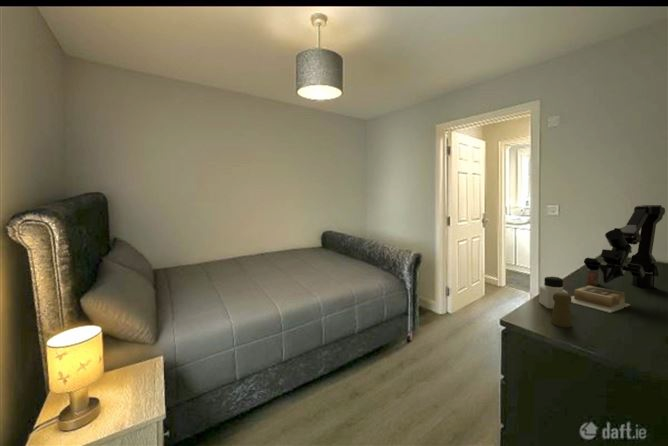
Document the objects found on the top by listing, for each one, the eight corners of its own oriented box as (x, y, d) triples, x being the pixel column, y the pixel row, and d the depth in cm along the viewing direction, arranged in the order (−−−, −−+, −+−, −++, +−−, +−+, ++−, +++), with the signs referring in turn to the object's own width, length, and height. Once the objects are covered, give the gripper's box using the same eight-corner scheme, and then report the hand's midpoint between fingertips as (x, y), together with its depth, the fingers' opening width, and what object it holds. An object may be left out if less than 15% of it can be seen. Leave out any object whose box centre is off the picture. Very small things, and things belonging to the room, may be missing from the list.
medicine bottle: (567, 309, 115) (568, 280, 114) (547, 308, 116) (548, 279, 115) (557, 303, 122) (558, 275, 121) (538, 302, 123) (539, 275, 122)
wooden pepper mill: (546, 320, 105) (547, 291, 104) (561, 319, 106) (562, 290, 105) (560, 327, 99) (561, 296, 98) (576, 326, 100) (577, 295, 99)
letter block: (589, 285, 130) (574, 289, 124) (625, 292, 119) (610, 297, 114) (589, 294, 130) (574, 298, 125) (624, 302, 119) (610, 307, 114)
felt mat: (582, 294, 131) (582, 293, 131) (629, 305, 117) (629, 304, 117) (562, 300, 125) (562, 299, 124) (609, 313, 110) (609, 311, 110)
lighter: (593, 286, 142) (593, 266, 141) (584, 284, 145) (585, 265, 144) (600, 283, 146) (601, 264, 145) (592, 282, 149) (593, 263, 148)
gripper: (586, 240, 133) (572, 266, 129) (643, 245, 116) (628, 276, 112) (595, 255, 136) (581, 281, 133) (650, 262, 120) (637, 292, 116)
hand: (605, 282), depth 123 cm, fingers closed
